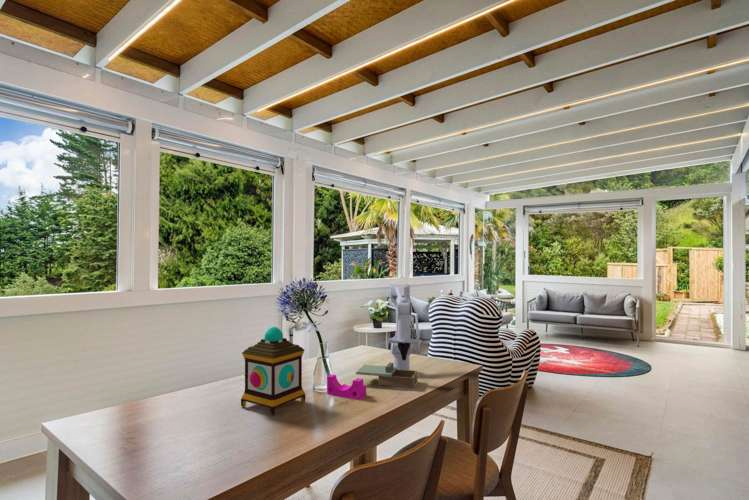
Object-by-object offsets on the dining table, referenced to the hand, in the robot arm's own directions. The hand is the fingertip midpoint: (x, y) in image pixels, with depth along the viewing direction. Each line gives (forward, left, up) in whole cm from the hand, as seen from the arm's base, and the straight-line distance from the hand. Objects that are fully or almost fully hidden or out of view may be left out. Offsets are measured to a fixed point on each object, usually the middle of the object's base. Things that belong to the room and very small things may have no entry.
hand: (404, 359), depth 190 cm
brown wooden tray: (+3, -2, -10) cm, 11 cm away
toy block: (+21, -20, -11) cm, 31 cm away
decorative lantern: (+40, -43, -11) cm, 60 cm away
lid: (+3, -12, -5) cm, 13 cm away
